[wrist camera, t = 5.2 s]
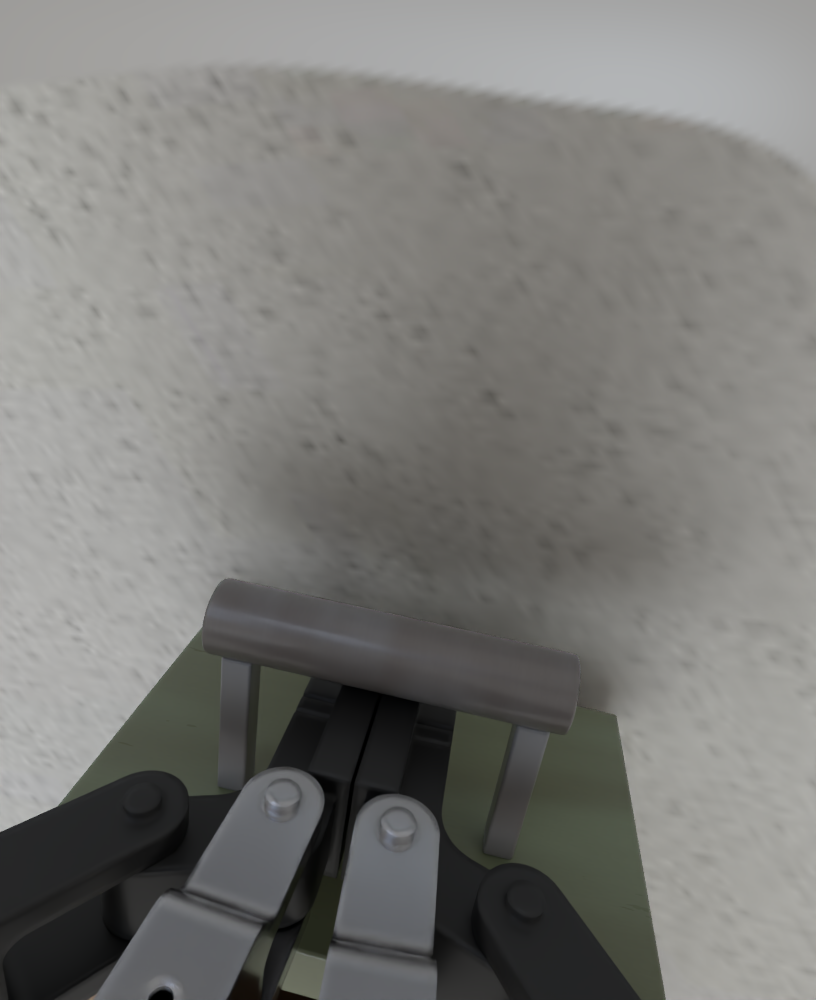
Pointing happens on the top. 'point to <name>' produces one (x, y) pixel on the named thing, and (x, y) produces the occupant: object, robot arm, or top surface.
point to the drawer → (472, 764)
